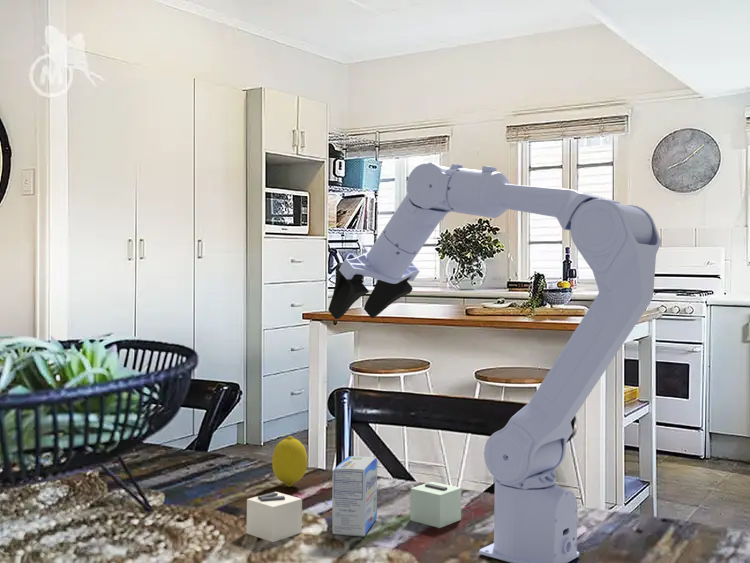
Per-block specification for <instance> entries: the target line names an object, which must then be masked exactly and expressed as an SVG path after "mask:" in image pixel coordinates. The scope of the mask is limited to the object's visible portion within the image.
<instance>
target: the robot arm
mask: <svg viewBox="0 0 750 563" xmlns="http://www.w3.org/2000/svg"><path fill="white" fill-rule="evenodd" d="M463 166H464V165H462V164H458V163H452V164H451V165H450V167H447V166H442V165H438V164H436V163H434V162H427V163H422V164H418V165H417V166H415V167H414V168H413V170H411V172H410V173H409V175H408V178H407V182H406V193H407V194H405V197H403V199H402V201H401V202H400V204H399V205H398V208H397V209H396V210H395V212H394V213H393V215H392V216H391V218H390V219H389V220H388V222H387V224H386V225H385V226H384V228H383V230H382V231H381V233H380V235H379V236H378V237H377V239H376V241H375V242H374V243H373V245H372V246H371V247H370V246H364V248H363V249H362V253H363V254H360V255H358V256H356V257H353V258H346V259H345V260H344V261H343V262H338V264H337V266H336V267H335V283H334V287H333V288H334V289H333V294H332V297H331V300H330V302H329V306H328V308H327V309H328V311H329V313H330V314H331V316H332V317H333V318H334V319H335V320H340V319H341V318H342V317H344V315H345V314H346V313H347V312H348V310H350V309H351V307H352V306H353V304H355V302H357V300H359V299H361V298H362V297H363V296H364V295H366V294H368V293H370V291H369V289H368V288H367V287H366V285H364V284H363V283H364V277H366V278H372V279H375V280H376V283H375V285H374V287H373V289H372V291H371V293H370V295H369V297H368V298H367V300H366V302H365V305H364V307H363V310H364V311H365V313H367V315H368V316H369V317H370V318H371V319H374V318H376V317H377V316H379V315H380V314H381V313H382V312H383V311H384V310H385V309H386V308H388V307H389V306H390V305H392V304H394V303H395V302H396V301H397V300H399V299H401V298H403V297H405V296H407V295H410V294H411V292H412V291H413V286H412V285H411V284H410V283H409V282H413V281H415V279H416V277H417V276H418V274H419V273H420V269H419V268H418V267H416V265H415V264H414V263H413V261H415V260H414V259H415V258H416V257H417V255H418V254H419V252H420V251H421V249H422V248H423V246H424V245H425V244H426V243H427V241H428V239H429V237H430V236H431V235H432V233H433V232H434V231H435V229H436V228H437V226H438V225H439V223H440V222H441V221H443V219H444V218H445V217H446V215H448V214H449V213H452V212H453V213H457V214H458V213H459V214H465V215H469V216H470V215H471V216H479V217H483V218H489V219H490V218H492V219H495V218H498V217H500V216H501V215H503V214H504V213H505V212H507V211H508V210H510V211H518V212H523V213H529V214H535V215H541V216H545V217H553V218H556V219H557V221H558V224H560V227H561V228H562V229H563V230H564V231H570V236H571V239H572V243H574V245H575V247H576V249H577V251H578V252H579V254H580V255H581V256H582V258H583V259H584V261H585V262H586V264H587V265H588V266H589V268H590V269H591V271H592V274H593V276H594V280H595V283H596V286H597V289H598V294H597V295H596V296H595V298H594V300H593V302H592V303H591V305H590V306H589V308H588V309H587V311H586V313H585V314H584V316H583V317H582V319H581V321H580V322H579V324H578V326H577V327H576V329H575V330H574V331H573V333H572V335H571V336H570V338H569V339H568V341H567V343H566V344H565V345H564V347H563V348H562V350H561V352H560V354H559V355H558V357H557V358H556V360H555V361H554V363H553V364H552V365H551V368H550V370H549V371H548V372H547V374H546V375H545V377H544V379H543V380H542V382H541V383H540V385H539V386H538V388H537V390H536V391H535V393H534V394H533V396H532V398H531V399H530V400H529V402H528V403H527V404H525V405H524V406H523V407H522V408H521V409H520V410H518V411H517V412H516V413H515V414H514V415H512V416H511V417H510V418H509V420H508V422H507V423H506V424H505V426H504V427H503V428H501V429H499V430H497V431H495V432H493V433H492V434H491V435H490V436H489V437H488V439H487V440H486V443H485V445H484V449H483V450H484V451H483V456H484V463H485V465H486V468H487V470H488V471H489V473H490V474H491V475H492V476H493V483H494V502H493V503H494V506H493V507H494V509H493V510H494V511H493V513H494V514H493V517H494V519H493V542H492V543H491V544H489V545H487V546H484V547H481V548H480V549H479V550H478V552H479V554H480V555H481V556H482V555H483V556H486V557H488V558H489V557H490V558H493V559H497V560H500V561H504V562H507V563H569V562H571V561H573V560H575V559H576V558H578V557H579V556H580V552H579V551H578V501H577V498H576V495H575V493H574V492H573V491H572V490H570V489H566V488H563V487H561V486H559V485H558V484H557V483H556V480H557V477H556V475H557V474H556V472H557V471H556V469H557V468H559V467H560V466H561V464H562V462H563V461H564V459H565V455H566V448H567V443H568V440H569V439H570V437H571V436H572V434H573V432H574V430H573V426H572V420H574V418H575V416H576V415H577V413H578V412H579V410H580V409H581V408H582V406H583V405H584V404H585V401H586V400H587V398H588V397H589V395H590V394H591V393H592V391H593V389H594V387H596V385H597V384H598V382H599V380H600V379H601V378H602V376H603V374H604V373H605V371H606V370H607V368H608V367H609V366H610V364H611V363H612V361H613V360H614V358H615V356H616V355H617V353H618V352H619V350H620V349H621V347H622V346H623V344H624V343H625V341H626V340H627V339H628V337H629V335H630V334H631V332H632V331H633V330H634V328H635V326H636V325H637V324H638V322H639V321H640V319H641V317H642V315H643V314H644V313H645V312H646V311H647V308H648V307H649V306H650V304H651V301H652V299H653V297H654V290H655V289H654V288H655V277H656V276H655V274H656V264H657V263H656V261H657V253H658V251H659V249H660V246H661V244H662V240H661V238H660V235H659V232H658V229H657V226H656V223H655V221H654V219H653V217H652V215H651V214H650V213H649V212H648V211H647V210H646V209H644V208H643V207H640V206H639V205H633V204H631V205H630V204H622V203H621V202H619V201H617V200H613V199H610V198H606V197H603V196H599V195H595V194H592V193H589V192H585V191H581V190H576V189H572V188H570V189H569V188H559V187H558V188H557V187H550V186H548V187H546V186H533V185H524V184H522V185H521V184H512V183H511V182H510V180H509V178H508V177H507V176H506V175H505V174H504V173H502V172H500V171H498V170H497V167H495V166H494V167H493V166H488V165H483V166H482V168H481V169H470V168H464V167H463ZM408 281H409V282H408Z"/></svg>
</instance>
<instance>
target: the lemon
mask: <svg viewBox="0 0 750 563" xmlns="http://www.w3.org/2000/svg"><path fill="white" fill-rule="evenodd" d="M271 461H272V462H271V464H272V466H271V467H272V471H273V474H274V476H275V477H276V478H277V480H279V481H280V482H282V483H284V484H285V485H286V486H287V487H292V486H294V484H295V483H297V482H299V481H300V480H302V478H303V477H304V475H305V474H306V471H307V468H308V455H307V450H306V448H305V446H304V445H303V443H302V442H301V441H300V440H299V439H297V438H294V437H293V436H291V435H290V436H287V437H286V438H285V439H282V440H280V441H279V442H278V443H277V444H276V446H275V447H274V450H273V453H272V460H271Z"/></svg>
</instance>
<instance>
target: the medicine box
mask: <svg viewBox="0 0 750 563" xmlns="http://www.w3.org/2000/svg"><path fill="white" fill-rule="evenodd" d="M331 482H332V484H331V486H332V490H331V491H332V496H331V497H332V501H331V502H332V504H331V505H332V509H331V510H332V511H331V512H332V513H331V514H332V515H331V516H332V517H331V519H332V520H331V521H332V534H333V535H339V536H348V537H349V536H352V537H362V538H364V537H366V535H367V533H368V532H369V530H370V528H372V525H374V522H376V520H377V518H378V517H377V516H378V514H377V511H378V510H377V508H378V506H377V505H378V458H377V457H373V456H362V455H361V456H360V455H359V456H357V455H355V456H354V455H352V456H347V457H346V458H344V460H342V461H341V462H340V463H339V464H338V465H337V466H335V468H334V469H332V481H331Z"/></svg>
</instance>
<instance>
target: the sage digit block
mask: <svg viewBox="0 0 750 563" xmlns="http://www.w3.org/2000/svg"><path fill="white" fill-rule="evenodd" d="M409 504H410V506H409V508H410V509H409V510H410V512H409V513H410V515H409V519H410V521H411V522H416V523H420V524H423V525H427V526H431V527H435V528H437V529H441V528H443V527H446V526H449V525H451V524H453V523H456V522H458V521H461V520H462V487H459V486H454V485H449V484H445V483H442V482H441V483H440V482H435V481H429V482H426V483H423V484H420V485H417V486H414V487H411V488H410V503H409Z"/></svg>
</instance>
